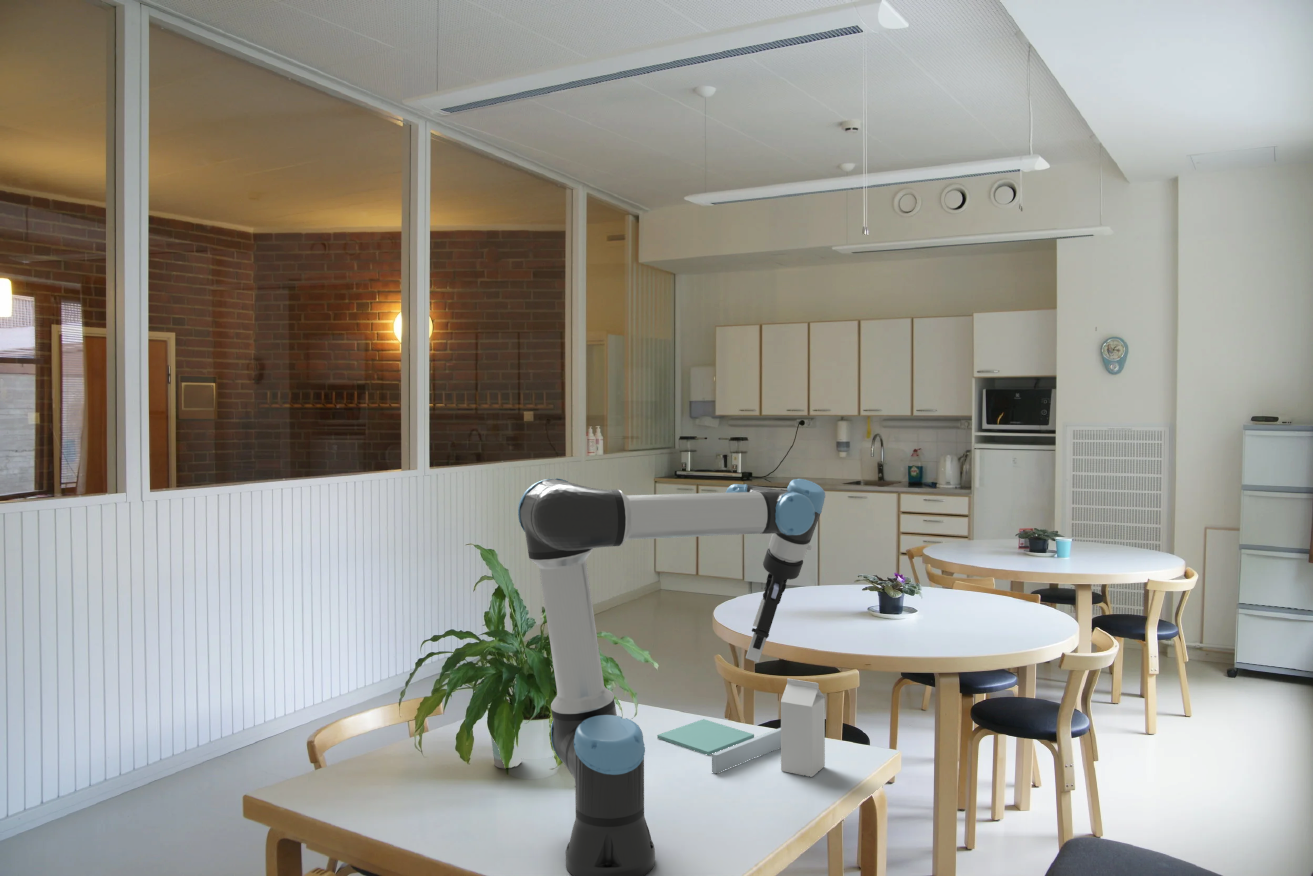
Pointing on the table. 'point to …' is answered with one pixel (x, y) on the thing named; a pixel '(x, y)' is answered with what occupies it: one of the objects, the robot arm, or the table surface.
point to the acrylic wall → (746, 750)
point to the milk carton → (802, 728)
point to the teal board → (705, 736)
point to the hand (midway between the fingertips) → (755, 642)
